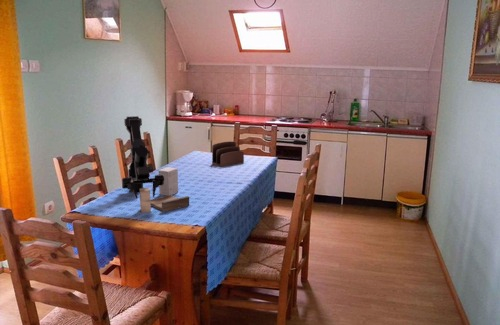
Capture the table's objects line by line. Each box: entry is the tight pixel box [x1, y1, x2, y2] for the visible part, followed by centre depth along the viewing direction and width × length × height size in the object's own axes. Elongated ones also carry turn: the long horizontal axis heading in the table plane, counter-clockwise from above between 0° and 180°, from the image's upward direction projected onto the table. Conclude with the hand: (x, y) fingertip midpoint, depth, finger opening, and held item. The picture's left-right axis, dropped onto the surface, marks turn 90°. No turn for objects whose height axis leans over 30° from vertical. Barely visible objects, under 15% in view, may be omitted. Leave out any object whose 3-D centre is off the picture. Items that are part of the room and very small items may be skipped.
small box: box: [158, 166, 179, 196], centre depth 220 cm, size 8×6×13 cm
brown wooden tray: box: [150, 195, 190, 213], centre depth 204 cm, size 16×14×4 cm
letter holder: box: [211, 141, 245, 167], centre depth 288 cm, size 10×20×14 cm, turn 130°
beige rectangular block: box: [139, 187, 152, 214], centre depth 194 cm, size 5×4×10 cm
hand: (145, 197), depth 193 cm, fingers open, 7 cm apart
